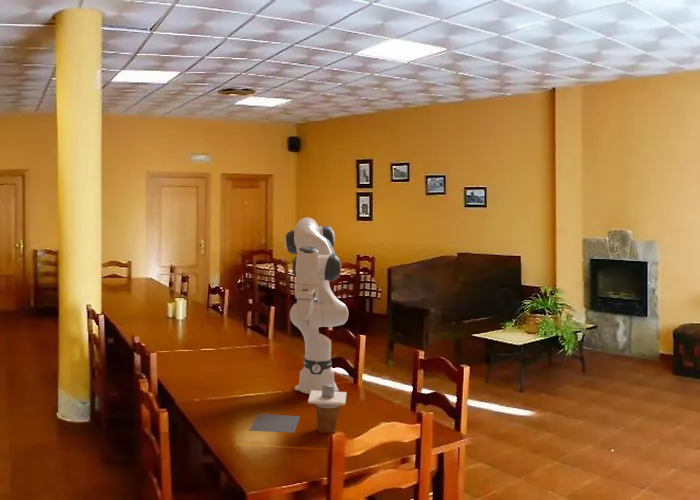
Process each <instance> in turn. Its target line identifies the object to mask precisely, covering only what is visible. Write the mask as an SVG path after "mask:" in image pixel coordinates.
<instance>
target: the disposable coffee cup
mask: <svg viewBox="0 0 700 500" xmlns="http://www.w3.org/2000/svg"><path fill="white" fill-rule="evenodd" d="M314 405H315V413H316V415H315V416H316V425H317V431H318V432H320V433H324V434H325V433H326V434H330V433H333V432H335V433H336V428H337V425H338V424H337V422H338V417H339V410H340V406H341V405H333V404H314Z"/></svg>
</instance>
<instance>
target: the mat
mask: <svg viewBox="0 0 700 500" xmlns="http://www.w3.org/2000/svg"><path fill="white" fill-rule="evenodd" d="M300 419H301V416H300V415H283V414H264V413H258V414H257V416H256V417H255V419H254V420H253V423H252V424H251V426H250V429H249V431H254V432H270V433H271V432H273V433H289V434H295V432H296V430H297V426H298V424H299V421H300Z"/></svg>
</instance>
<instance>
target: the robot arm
mask: <svg viewBox="0 0 700 500" xmlns="http://www.w3.org/2000/svg"><path fill="white" fill-rule="evenodd" d="M335 243H336V233H335V231H334V230H333V228H332V226H329V225H322V226H319V224H318V222H317V221H316V220H315V219H313V218H312V217H303V218H301V219H300V220H299V221H297V223H296V225H295V228H294V229H291V230H290V231H288V232H287V233H286V234H285V238H284V246H285V248H286V250H287V252H288V253H289V254H291V255H296V256H295V257H294V258H293V259H292V261H291V262H292V272H291V274H292V276H294V277H295V280H294V296H295V297H294V298H295V299H296V302H295V303H294V304H293V305H292V307H291V309H290V311H289V319H290V322H291V323H292V324H293V325H294V326H295V327H296V328H297V329H298V330H300V332H301V334H302V337H303V340H304V350H305V351H304V353H305V354H304V358H303V368H302V369H300V371H299V383H298V384H297V385H295V386H294V390H295V391H298V392H301V393H304V394H307V395H310V393H311V390H314V391H322V385H323V384H333V385H334V392H339V388H338V386H337V384H336V380H335V372H334V371H333V370H332V364H333V363H332V356H331V353H332V342H331V340H330V338H329V337H327V336H326V335H324V334H322V333H320V332H319V331H320V330H319V328H323V327H324V328H329V327H332V328H333V327H338V326H342V325H345V324H346V322H347V321H348V319H349V313H350V312H349V309H348V307H347V305H346V304H345V303H344V302H343V301H341V300H339V298H338V297H336V295H335V294H334V292H333V291H332V289H331V286H330V282H334V281H335V280H337V279H338V278H339V277H340V276H341V272H342V263H341V260H340V258H339V257H338V255H337V254H336V252H335V249H334V246H335ZM315 300H316V301H315Z"/></svg>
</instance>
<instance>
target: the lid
mask: <svg viewBox="0 0 700 500" xmlns="http://www.w3.org/2000/svg"><path fill="white" fill-rule="evenodd" d="M346 401H347V391H338V392H334V385H333V384H323V385H322V391H314V390H311V393H310V394H309V397H308V400H307V403H308V404H314V405H315V404H333V405H340V406H345V405H346V404H347V403H346Z"/></svg>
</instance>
